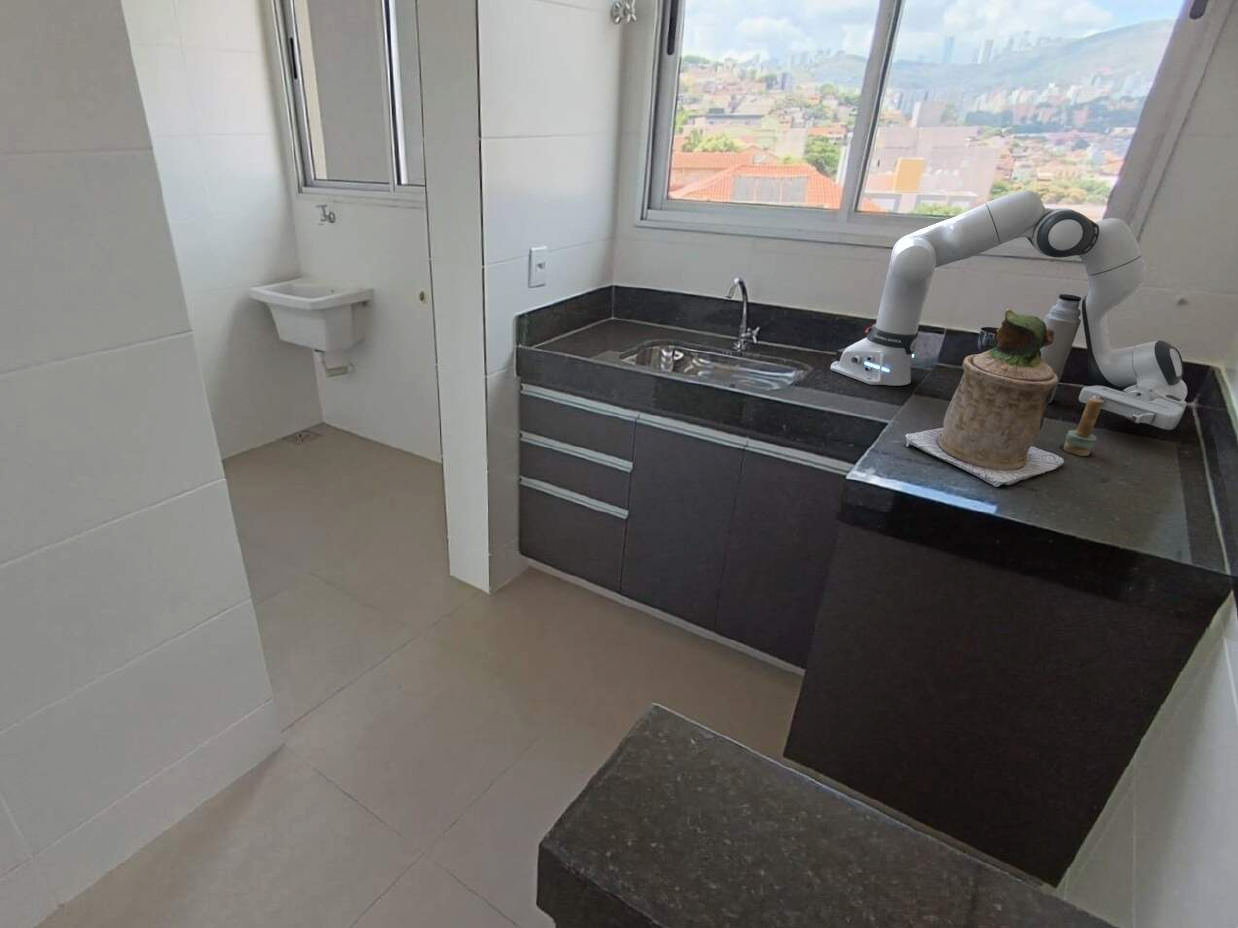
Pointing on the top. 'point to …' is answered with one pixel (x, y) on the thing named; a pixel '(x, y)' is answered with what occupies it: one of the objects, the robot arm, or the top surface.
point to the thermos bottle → (1061, 333)
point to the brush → (1084, 430)
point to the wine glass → (987, 339)
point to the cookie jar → (999, 408)
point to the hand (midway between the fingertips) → (1112, 411)
